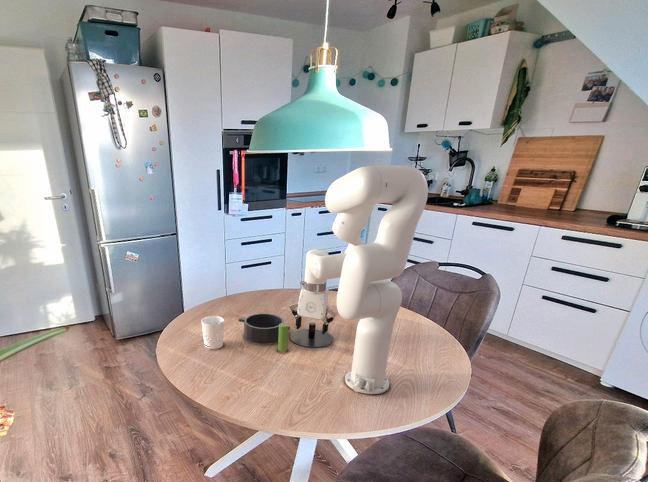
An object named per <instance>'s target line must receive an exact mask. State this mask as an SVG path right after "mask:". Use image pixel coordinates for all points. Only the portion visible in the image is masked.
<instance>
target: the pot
mask: <svg viewBox="0 0 648 482" xmlns="http://www.w3.org/2000/svg"><path fill="white" fill-rule="evenodd" d="M238 322H240V323H243V337H244V338H245V339H246V340H247V341H249V342H251V343H253V344H254V343H255V344H258V345H269V344H275V343H278V336H279V324H281V323H285V320H284V319H283V317H281V316H279V315H277V314H275V313H267V312H265V313H254V314H250V315H248V316H246V317H244V316H241V317H239V318H238ZM290 329H291V326H290V325H288V331H289V330H290Z"/></svg>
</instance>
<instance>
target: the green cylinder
mask: <svg viewBox="0 0 648 482" xmlns="http://www.w3.org/2000/svg"><path fill="white" fill-rule="evenodd" d="M288 326H289V324H288V323H286V322H284V323H281V324H279V336H278V342H277V350H278V352H281V353H284V352H288V346H289V345H288V342H289V330H288Z"/></svg>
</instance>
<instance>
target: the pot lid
mask: <svg viewBox="0 0 648 482" xmlns="http://www.w3.org/2000/svg"><path fill="white" fill-rule="evenodd" d="M316 326H317V324H316V322H312V321H311V322H308V328H301V329H296V330H294V331H292V332H291V334H290V335H289V336H290V337H289V339H290V341H291V342H292V343H293V344H294V345H296V346H298V347H302V348H308V349H321V348H327V347H328V346H330V345H332V344H333V342H334V337H333V335H331V334H330V333H329V332H328V331H327V332H326V333H325V334H324V335H323V334H322V329H318V328H317V329H316Z"/></svg>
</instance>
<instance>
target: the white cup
mask: <svg viewBox="0 0 648 482" xmlns="http://www.w3.org/2000/svg"><path fill="white" fill-rule="evenodd" d="M200 322H201V331H202V338H203V344H205V345H207V346H211V347H207V346H205V345H204V347H205V348H206V349H209V350H216V349H219V348H222V347H223V346H224V337H225V335H224V333H225V319H224V318H223V317H222V316H219V315H208V316H205V317H203V318H201V320H200ZM220 345H221V346H220ZM216 346H219V347H216Z"/></svg>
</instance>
